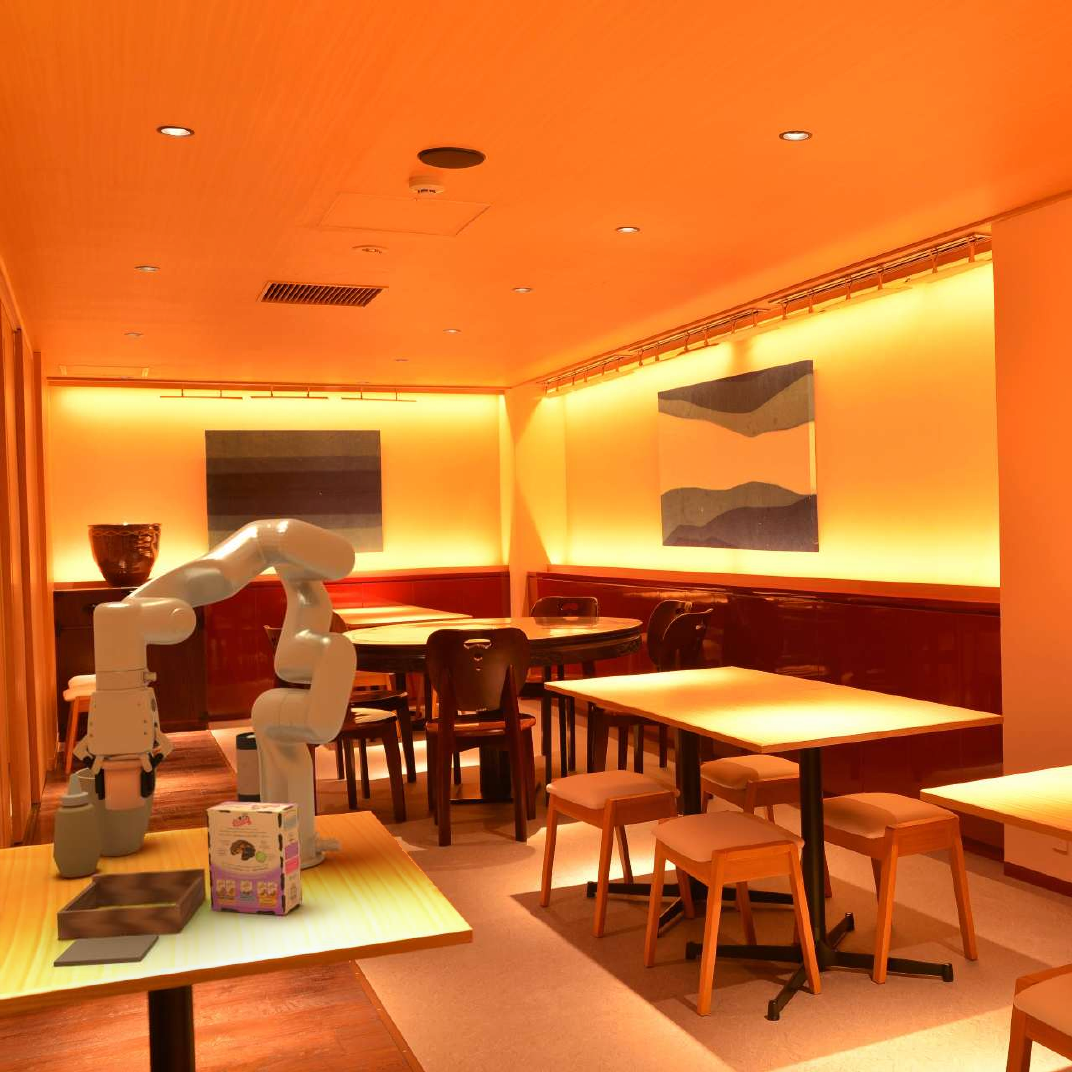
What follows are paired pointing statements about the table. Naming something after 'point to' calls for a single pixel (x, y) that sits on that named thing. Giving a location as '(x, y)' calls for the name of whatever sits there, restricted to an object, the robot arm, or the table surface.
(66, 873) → the squeeze bottle
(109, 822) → the plant pot
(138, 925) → the frame
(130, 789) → the terracotta pot
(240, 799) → the travel mug
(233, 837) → the candy box
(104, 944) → the mat
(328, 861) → the table surface
